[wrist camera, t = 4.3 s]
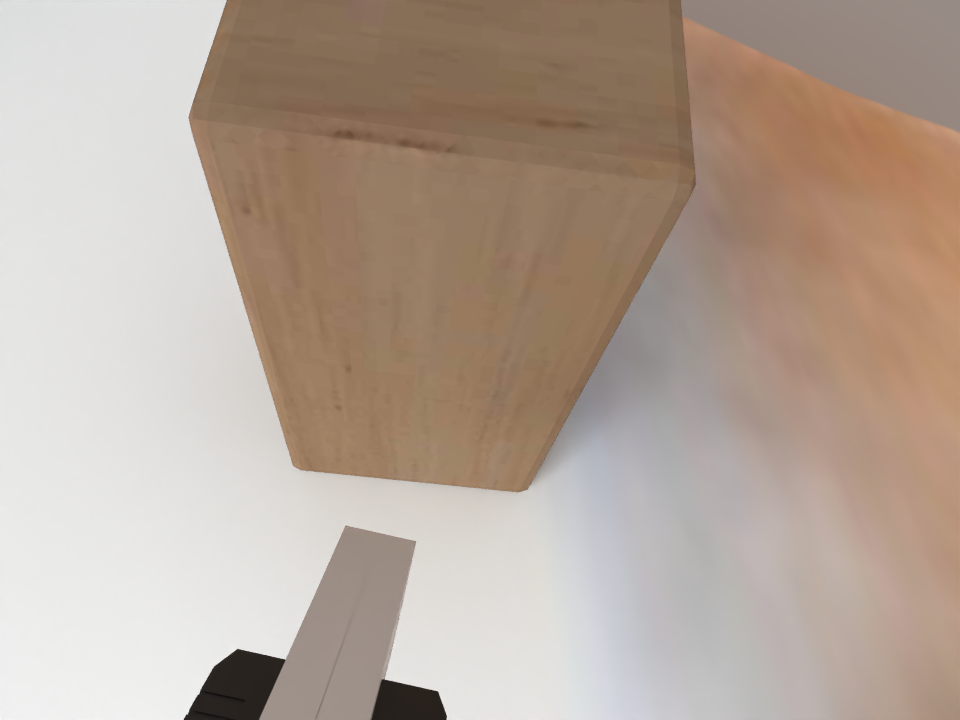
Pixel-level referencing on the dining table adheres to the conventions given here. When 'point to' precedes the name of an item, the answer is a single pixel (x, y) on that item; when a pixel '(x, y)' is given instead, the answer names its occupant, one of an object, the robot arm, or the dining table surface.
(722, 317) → the dining table surface
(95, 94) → the dining table surface
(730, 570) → the dining table surface
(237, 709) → the robot arm
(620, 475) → the dining table surface
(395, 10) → the wooden block
